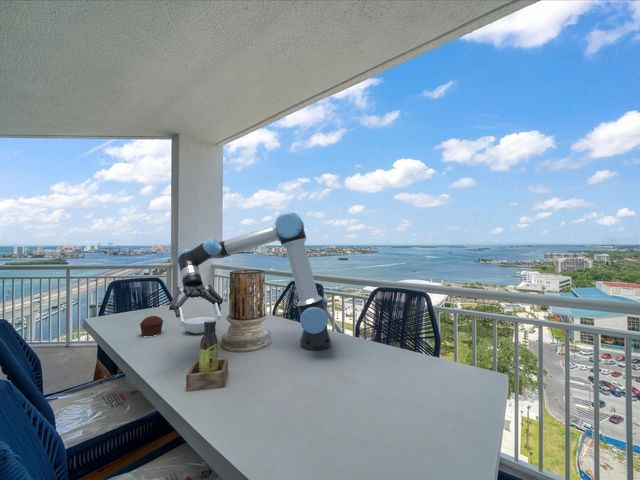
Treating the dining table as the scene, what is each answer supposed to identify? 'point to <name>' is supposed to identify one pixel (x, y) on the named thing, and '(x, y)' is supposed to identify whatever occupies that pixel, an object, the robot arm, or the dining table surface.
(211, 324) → the sauce bottle
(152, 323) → the muffin
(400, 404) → the dining table surface
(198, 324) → the cereal bowl
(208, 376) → the wooden open tray
